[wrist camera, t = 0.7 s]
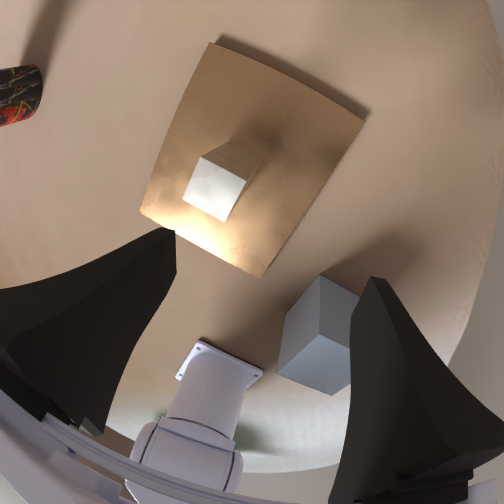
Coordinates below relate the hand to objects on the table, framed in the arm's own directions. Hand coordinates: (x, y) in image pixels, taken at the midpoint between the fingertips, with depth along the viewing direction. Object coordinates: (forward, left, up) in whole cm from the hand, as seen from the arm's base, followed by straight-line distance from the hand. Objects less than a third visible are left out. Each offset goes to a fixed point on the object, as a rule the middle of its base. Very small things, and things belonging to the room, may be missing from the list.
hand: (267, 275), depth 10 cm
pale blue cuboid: (-7, -8, -11) cm, 15 cm away
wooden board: (0, +4, -11) cm, 11 cm away
